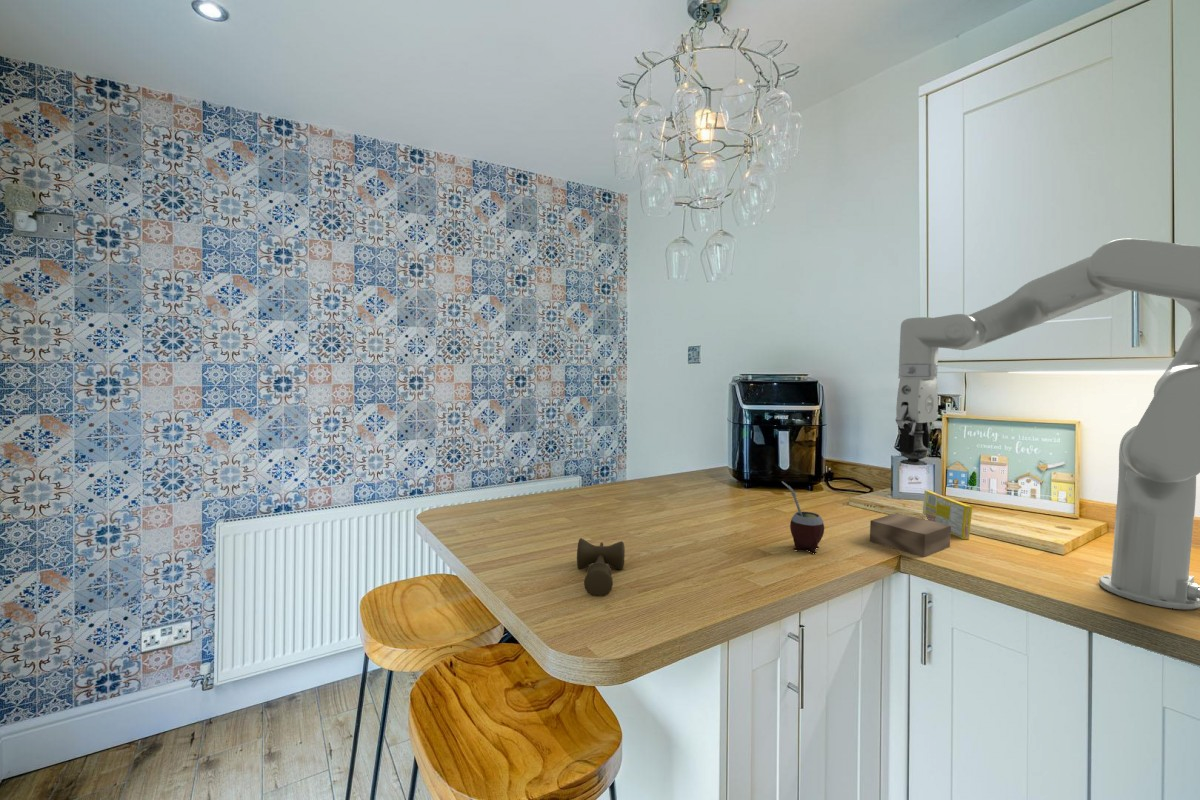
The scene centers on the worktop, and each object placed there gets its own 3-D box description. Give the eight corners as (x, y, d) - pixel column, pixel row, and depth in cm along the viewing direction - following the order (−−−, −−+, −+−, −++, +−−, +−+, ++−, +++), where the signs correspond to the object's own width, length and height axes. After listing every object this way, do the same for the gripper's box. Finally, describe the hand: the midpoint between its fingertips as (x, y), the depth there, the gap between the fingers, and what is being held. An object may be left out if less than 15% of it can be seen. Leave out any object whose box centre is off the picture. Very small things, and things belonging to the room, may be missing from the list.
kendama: (570, 599, 91) (579, 555, 111) (624, 602, 91) (623, 557, 111) (571, 567, 90) (579, 528, 110) (626, 570, 90) (624, 530, 110)
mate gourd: (830, 553, 113) (832, 486, 112) (799, 556, 111) (801, 488, 110) (808, 542, 120) (810, 479, 119) (778, 545, 118) (780, 480, 117)
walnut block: (949, 547, 118) (950, 525, 117) (924, 557, 111) (925, 534, 111) (896, 532, 128) (896, 512, 127) (869, 541, 121) (870, 520, 121)
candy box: (971, 540, 123) (972, 506, 123) (962, 539, 123) (963, 506, 123) (929, 520, 139) (930, 489, 139) (921, 519, 139) (922, 489, 139)
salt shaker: (932, 466, 115) (935, 412, 114) (903, 464, 116) (905, 412, 115) (922, 461, 120) (925, 410, 120) (895, 460, 122) (897, 410, 121)
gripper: (916, 372, 109) (912, 456, 110) (953, 372, 119) (949, 450, 120) (880, 372, 115) (877, 451, 117) (918, 372, 125) (915, 445, 126)
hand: (914, 450), depth 118 cm, fingers closed on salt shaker, 5 cm apart
